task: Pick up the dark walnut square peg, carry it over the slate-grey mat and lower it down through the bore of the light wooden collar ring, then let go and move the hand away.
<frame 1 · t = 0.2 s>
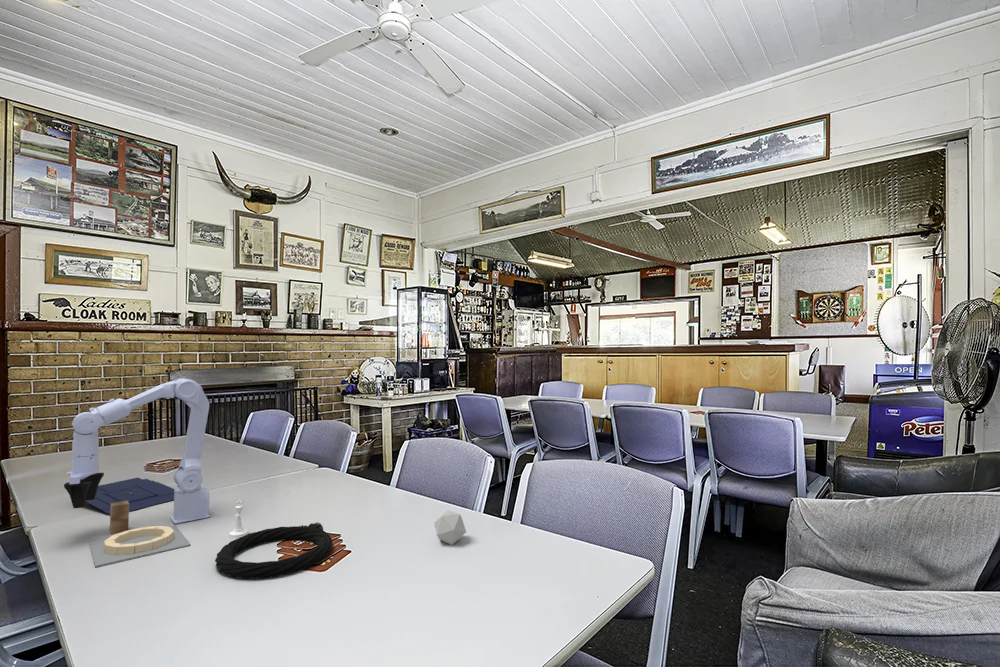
hand: (84, 503, 139), 10 cm above the table, fingers open, 7 cm apart
wooden peg: (118, 530, 145), on the table
cable lock: (279, 556, 128), on the table
chess piece: (238, 535, 142), on the table
papers: (129, 501, 174), on the table
die: (449, 541, 137), on the table
bead board: (139, 544, 134), on the table
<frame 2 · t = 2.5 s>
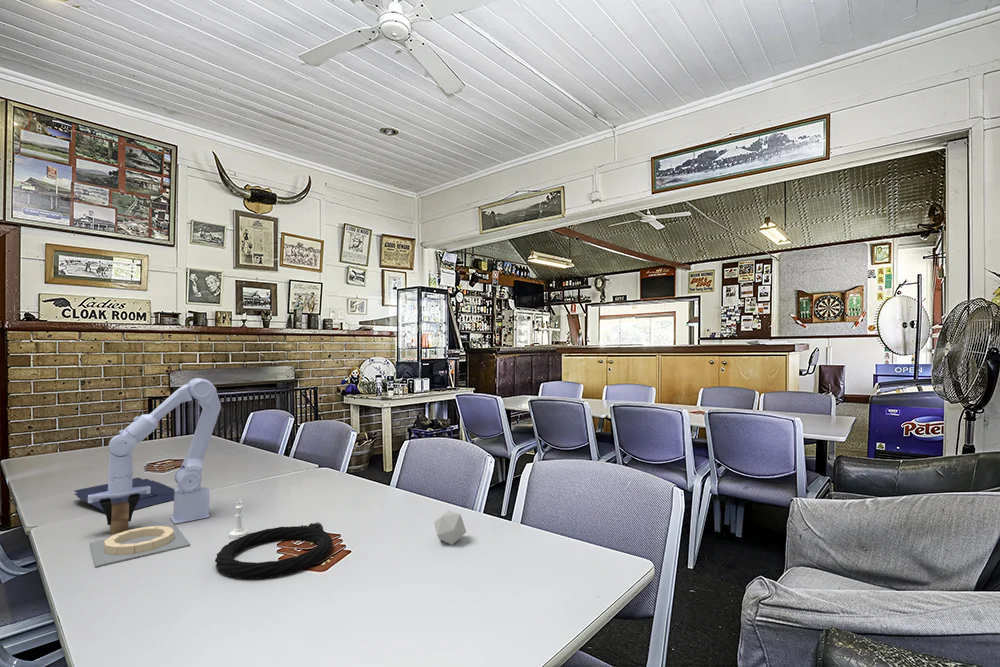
hand: (119, 522, 145), 2 cm above the table, fingers closed on wooden peg, 4 cm apart
wooden peg: (118, 530, 145), on the table, touching gripper
everything else where it was.
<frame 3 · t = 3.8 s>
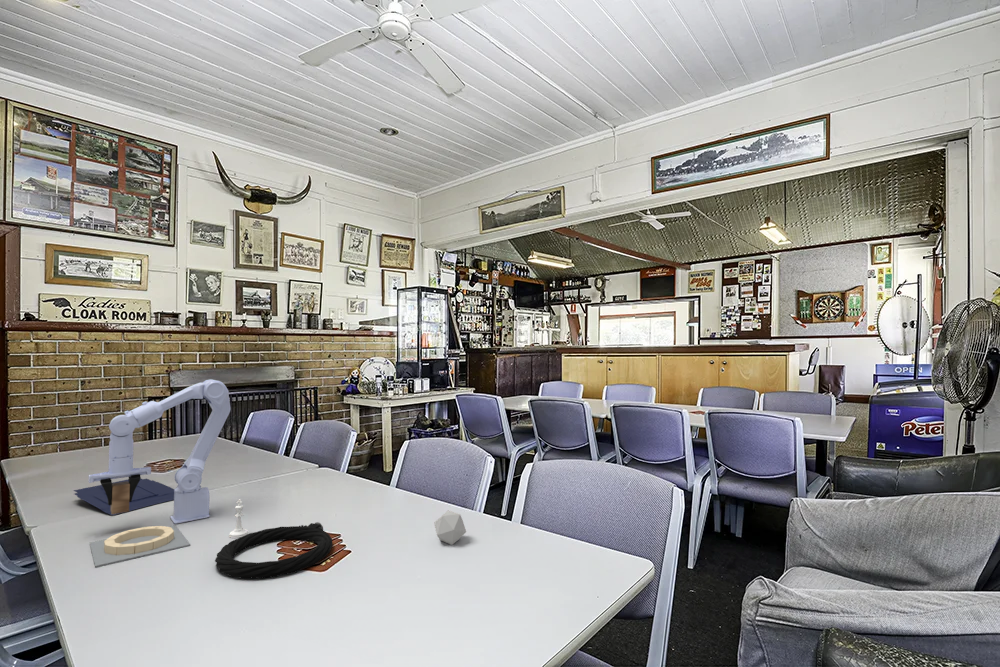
hand: (119, 502, 145), 8 cm above the table, fingers closed on wooden peg, 4 cm apart
wooden peg: (119, 511, 145), point 6 cm above the table, touching gripper
everything else where it was.
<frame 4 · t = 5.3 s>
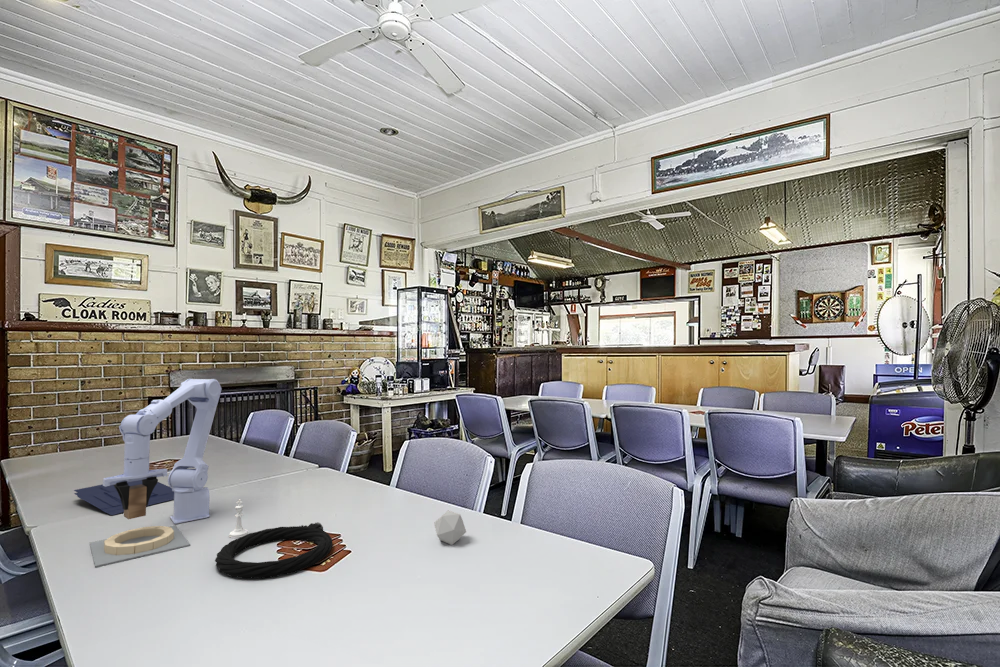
hand: (135, 507, 137), 9 cm above the table, fingers closed on wooden peg, 4 cm apart
wooden peg: (134, 515, 137), point 7 cm above the table, touching gripper
everything else where it was.
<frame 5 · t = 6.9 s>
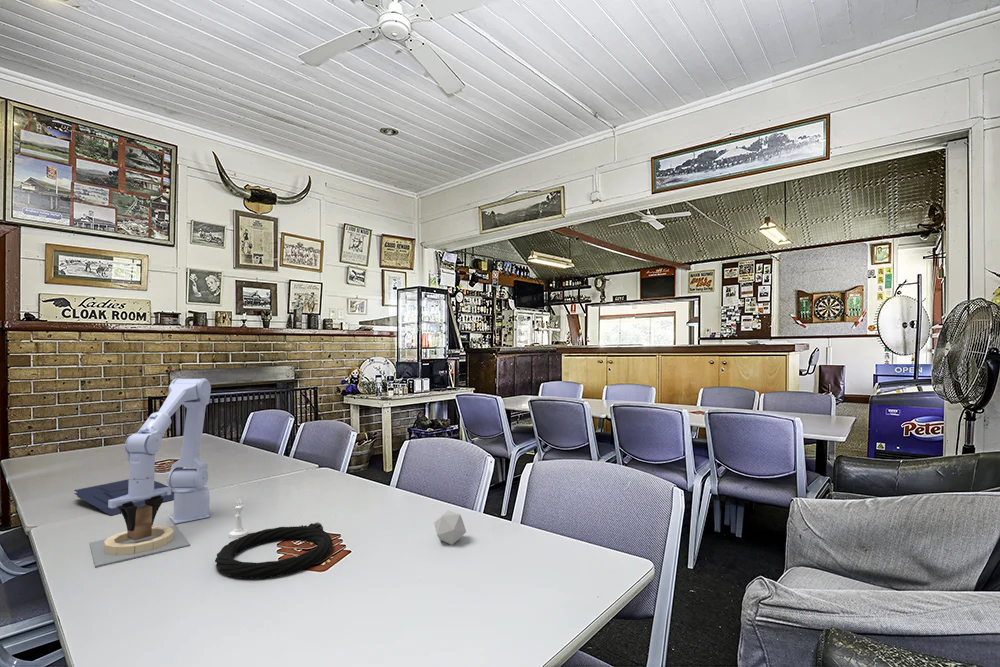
hand: (140, 527, 134), 5 cm above the table, fingers closed on wooden peg, 4 cm apart
wooden peg: (139, 536, 134), point 2 cm above the table, touching gripper
everything else where it was.
when the fingers open (3 cm above the table, at t = 8.1 s): wooden peg stays where it is, resting on bead board.
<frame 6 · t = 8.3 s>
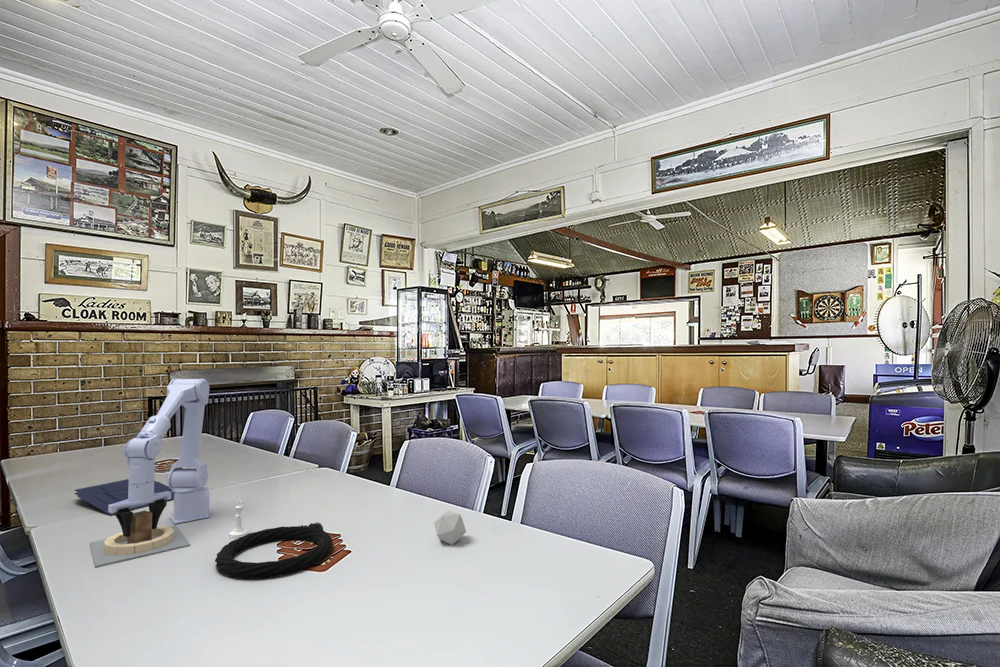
hand: (140, 532, 134), 3 cm above the table, fingers open, 6 cm apart
wooden peg: (139, 543, 134), resting on bead board
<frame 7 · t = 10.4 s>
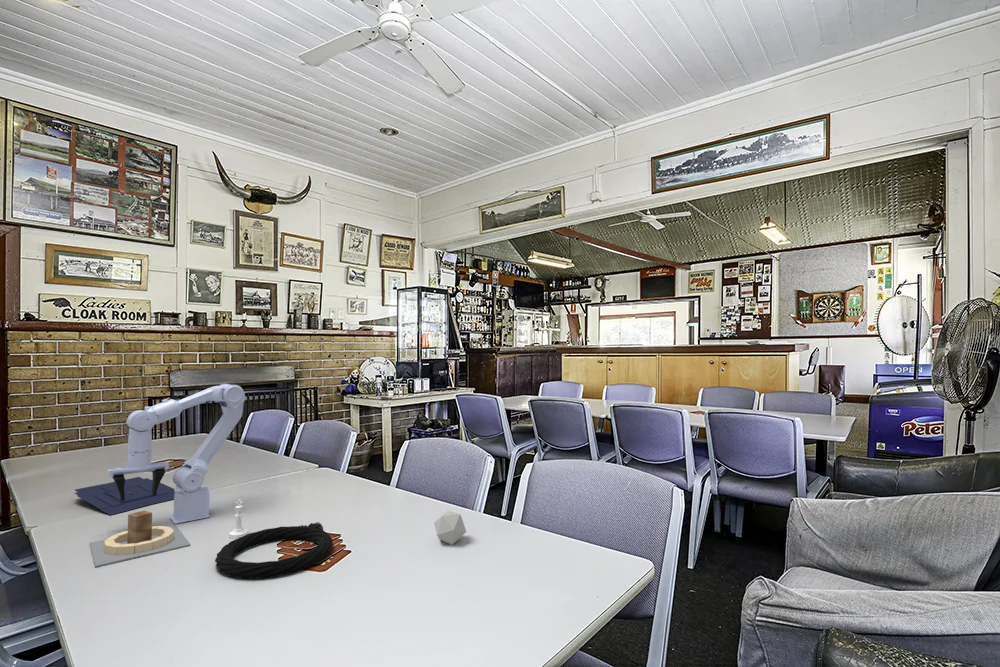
hand: (138, 497, 146), 9 cm above the table, fingers open, 7 cm apart
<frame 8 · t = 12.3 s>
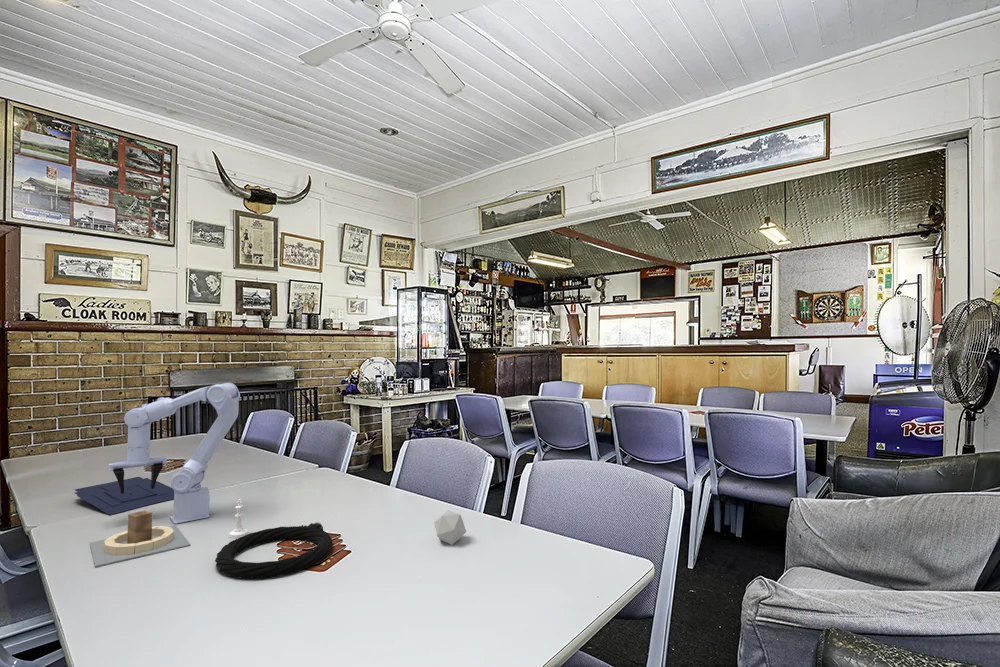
hand: (137, 490, 154), 9 cm above the table, fingers open, 7 cm apart
at the end: wooden peg 0.2 cm off-centre on the bead board, point 0.4 cm above the bead board's base; wooden peg tilted 0°; the gripper is holding nothing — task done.
